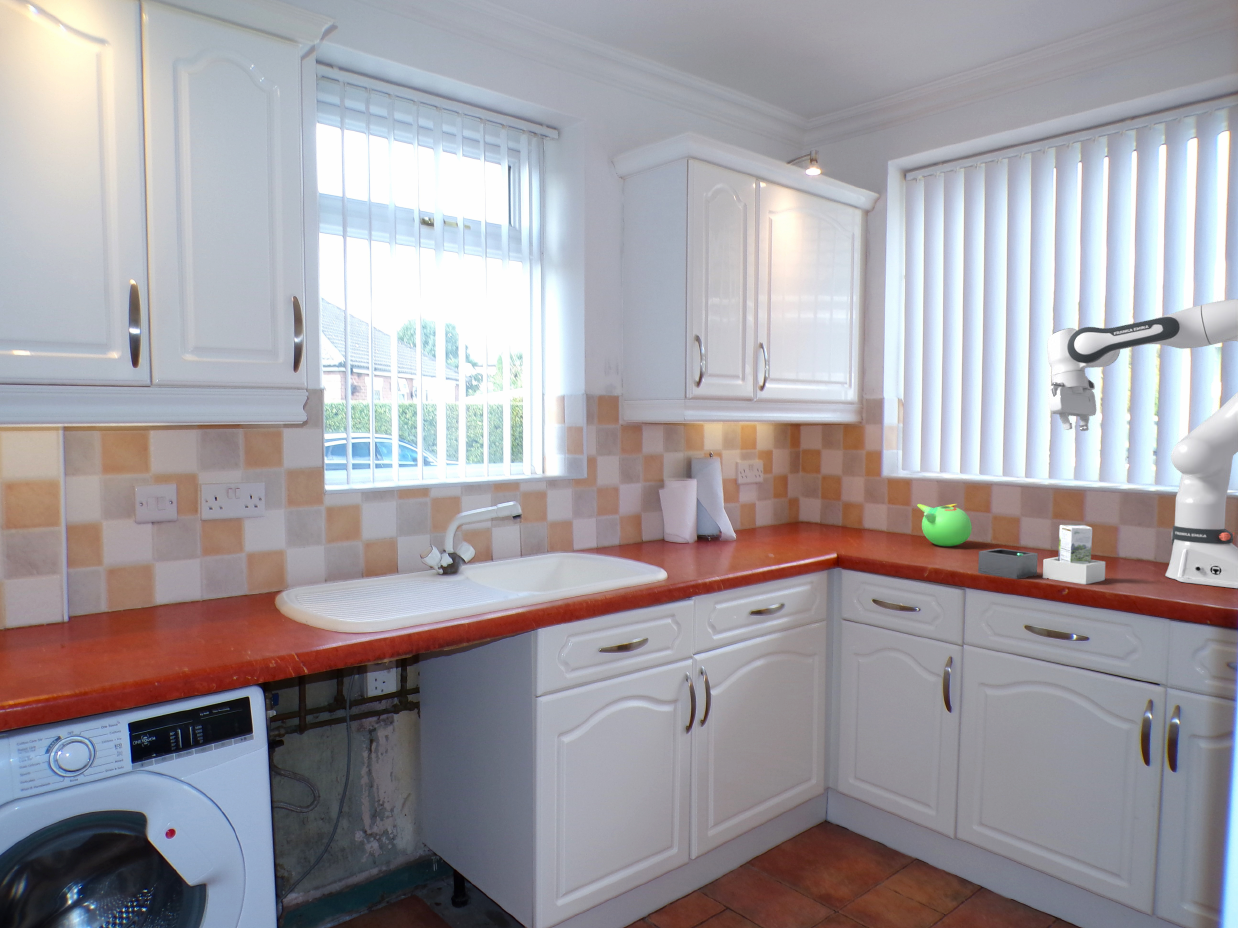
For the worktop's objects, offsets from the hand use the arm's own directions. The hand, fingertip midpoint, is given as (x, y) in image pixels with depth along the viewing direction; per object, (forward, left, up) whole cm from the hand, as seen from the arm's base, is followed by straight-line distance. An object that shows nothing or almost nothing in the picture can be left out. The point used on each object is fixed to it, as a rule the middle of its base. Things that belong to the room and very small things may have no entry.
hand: (1076, 430), depth 237 cm
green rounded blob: (+45, -6, -40) cm, 61 cm away
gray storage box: (+4, +29, -40) cm, 49 cm away
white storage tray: (-10, +21, -40) cm, 46 cm away
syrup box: (-10, +21, -40) cm, 46 cm away
